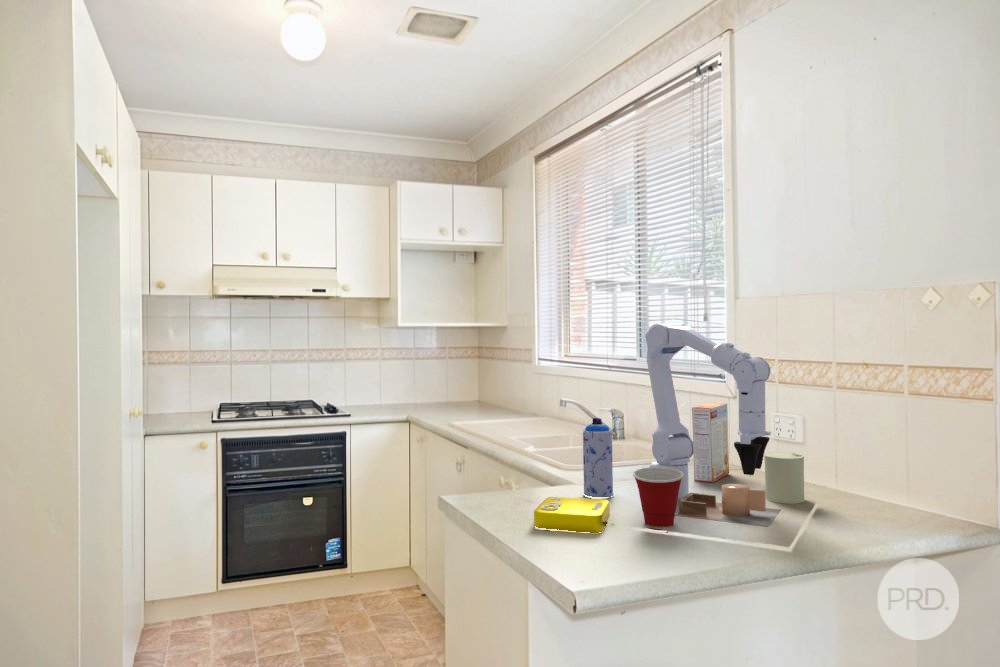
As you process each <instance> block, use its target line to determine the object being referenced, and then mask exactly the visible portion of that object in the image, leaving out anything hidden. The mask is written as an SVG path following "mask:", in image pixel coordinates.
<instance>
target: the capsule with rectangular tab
mask: <svg viewBox="0 0 1000 667" xmlns="http://www.w3.org/2000/svg"><path fill="white" fill-rule="evenodd" d="M721 503H722V513H723V514H725V515H728V516H735V517H744V516H749V515H750V510H755V511H764V512H765V511H766V508H767V507H766V506H767V505H766V503H767V502H766V499H765V489H758V488H750V486H749V485H746V484H741V483H726V484H725V483H724V484H722V485H721Z"/></svg>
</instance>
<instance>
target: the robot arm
mask: <svg viewBox="0 0 1000 667" xmlns="http://www.w3.org/2000/svg"><path fill="white" fill-rule="evenodd" d="M644 337H645V342H646V347H647V349H646V350H647V351H646V364H647V370H648V374H649V380H650V384H651V385H650V387H651V392H652V396H653V401H654V402H653V403H654V409H655V414H656V420H657V427H656V429H655V430H654V432H653V433H652V435H651V436H652V446H651V452H652V455H653V458H654V459H655V460H656V461H652V462H651V463H650V465H649V467H666V468H673V469H677V470H680V471H681V472H683V474H684V476H683V478H682V480H681V484H680V488H679V493H678V499H679V500H680V499H682V498H684V497H685V496H686V495H688V494H689V493H690V491H689V490H690V489H689V463H690V460H691V458H692V457H693V453H694V443H693V438H692V437H691V436H690V432H689V429H688V427H686V426H685V425H684V424H682V422H681V419H680V412H679V408H678V407H679V406H678V403H677V397H676V392H675V387H674V386H675V385H674V382H673V376H672V371H671V369H672V368H671V366H670V365H671V364H670V363H671V360H672V359H673V358H674V356H675V355H677V354H678V353H679V352H680V351H682V350H683V349H684V348H686V347H689V348H691V349H694V350H695V351H697V352H699V353H701V354H704V355H705V356H708V357H709V358H710V361H711V363H712V364H713V365H714V366H716V367H717V368H719V369H721V370H722V371H724V372H726V373H728V374H730V375H731V376H733V379H734V381H735V382H736V389H737V391H738V392H737V393H738V429H737V434H738V435H739V438H740V441H735V442H733V448H735V450H736V452H737V455H738V457H739V460H740V464H741V470H742V473H743V475H746V476H754V475H755V471H756V469H757V470H761V469H762V464H763V460H764V454H765V453H766V452H765V451H766V448H767V445H768V444H769V442H770V437H769V436H772V431H771V430H766V381H768V380H769V378H770V376H771V367H770V364H769V363H768V362H767V360H765V359H764V358H763V357H760V356H758V357H753V358H752V356H751V353H749V352H747V351H746V352H743V351H741V350H739V349H737V348H735V344H733V343H731V342H727V343H726V342H723V343H722V342H721V343H719V344H717V343H716V342H714V341H713V340H711V339H710V338H708V337H706V336H704V335H702V334H701V333H699V332H697V331H696V330H695V329H693V328H692V326H688V325H686V324H684V323H682V322H681V323H654V324H652V325H651V326H650V328H649V329H648V331H647V332H646V334H645V336H644Z"/></svg>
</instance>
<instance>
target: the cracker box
mask: <svg viewBox="0 0 1000 667" xmlns="http://www.w3.org/2000/svg"><path fill="white" fill-rule="evenodd" d="M728 414H729V413H728V403H727V402H712V401H711V402H707V403H703V404H700V405H697V406H692V407H691V415H692V416H691V417H692V418H691V420H692V441H693V443H694V453H693V455H692V457H693V479H694V481H695V482H706V483H714V482H717V481H718V480H721V479H722V478H723V477H725V476H727V475H729V474H730V461H729V460H730V451H729V420H728V419H729V418H728Z"/></svg>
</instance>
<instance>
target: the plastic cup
mask: <svg viewBox="0 0 1000 667" xmlns="http://www.w3.org/2000/svg"><path fill="white" fill-rule="evenodd" d="M683 476H684V474H683V472H681V471H680V470H677V469H673V468H666V467H650V466H649V467H641V468H639V469H636V470H634V471H633V472H632V477H633V478H634V479H635V482H636V485H637V489H638V493H639V498H640V499H639V500H640V504H641V510H642V511H641V512H642V514H643V518H644V524H645V525H646V526H649V527H648V529H650V530H654V531H664V529H661V528H668V527H672V526H673V525H674V523H675V518H676V517H675V515H676V514H677V513H676V512H677V504H678V501H679V500H678V493H679V488H680V484H681V480H682V478H683Z"/></svg>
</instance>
